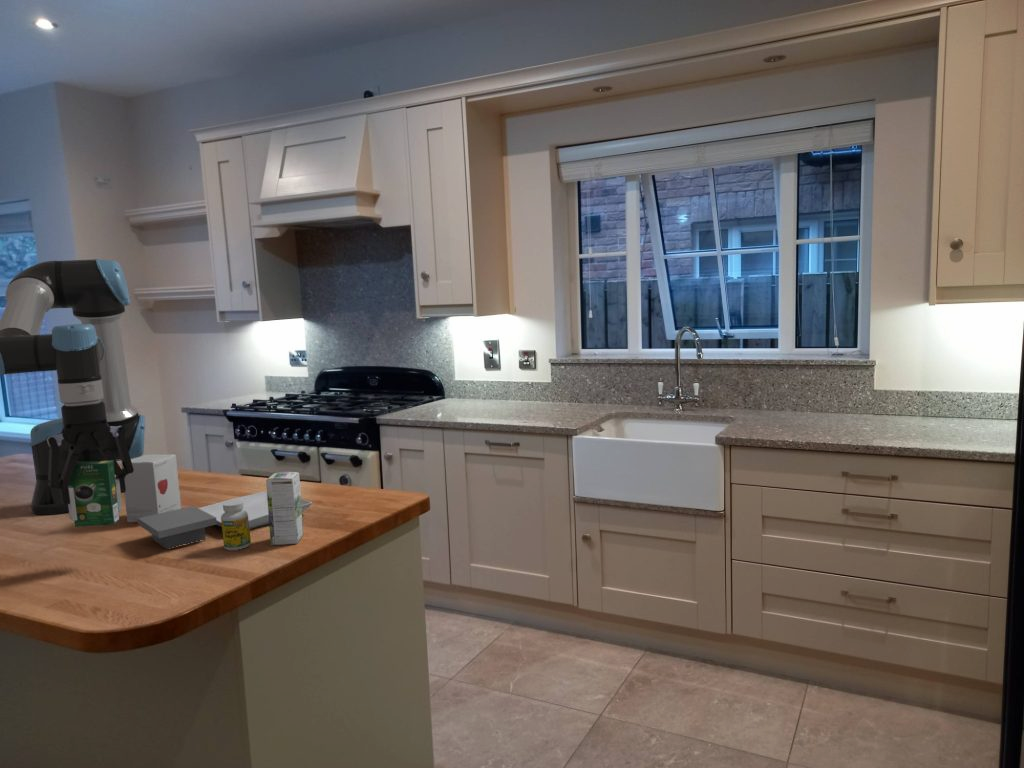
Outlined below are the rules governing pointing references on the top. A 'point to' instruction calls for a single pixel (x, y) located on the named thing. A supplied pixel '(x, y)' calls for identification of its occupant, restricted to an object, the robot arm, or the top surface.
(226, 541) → the supplement bottle
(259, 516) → the salad plate
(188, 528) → the grey stand
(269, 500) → the syrup box
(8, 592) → the top surface
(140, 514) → the supplement box
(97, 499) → the coffee box
